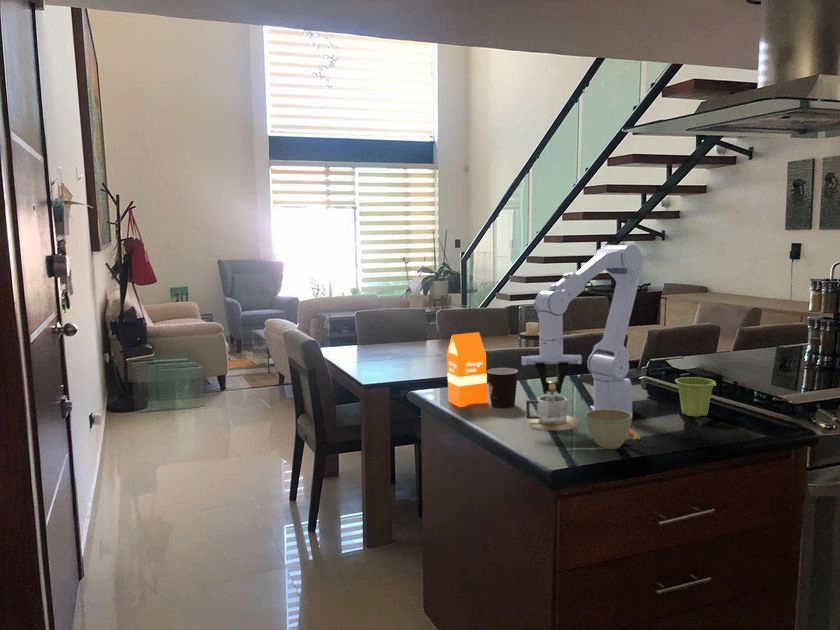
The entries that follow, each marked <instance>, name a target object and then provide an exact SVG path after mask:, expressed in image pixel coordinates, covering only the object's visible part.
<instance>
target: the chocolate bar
mask: <svg viewBox="0 0 840 630" xmlns="http://www.w3.org/2000/svg"><path fill="white" fill-rule="evenodd" d="M627 437H630V438H631V439H632V440H641V437H640V435H639V434H638V432H636V431H635V430H633V429H632V428H630V430H629V433H628V435H627Z"/></svg>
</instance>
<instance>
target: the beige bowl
mask: <svg viewBox="0 0 840 630" xmlns="http://www.w3.org/2000/svg"><path fill="white" fill-rule="evenodd" d="M585 421H586V425H587V427H588V430H589V433H590V434H591V438H592V439H593V440H594V443H595V444H596V446H598V447H600V449H604V450H616V449H619V448H621V447H622V446H623V445H624V443H625V441H626V439H627V437H628V433H629V430H630V429H631V427H632V422H633V414H631V413H629V412H626V411H622V410H615V409H599V410H589V411H587V412H586V413H585Z"/></svg>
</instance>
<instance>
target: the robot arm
mask: <svg viewBox="0 0 840 630" xmlns="http://www.w3.org/2000/svg"><path fill="white" fill-rule="evenodd" d="M643 260H644V256H643V253H642V252H641V250H640V248H639V247H638V245H636V244H605V245H603V246H602V247H600V248H599V249H597V250H596V252H595V255H594V256H593V257H592V258H591V259H590V260H588V261H587V262H586V263H585V264H584V265H583V266H582V267H581V268H580V269H578V271H576V272H571V271H570V272H565V273H564V274H563V275H562V278H561V279H560V280H558V281H557V282H555V283H554V284H551V285H549V287H550V288H548V290H547V289H544V290H541V291H540V292H538V293H537V295H536V297H535V299H534V301H533V307H534V309H535V311H536V313H537V318H538V324H539V325H538V326H539V327H538V328H539V329H538V330H539V331H538V332H539V334H538V335H539V341H538V342H539V354H538V355H537V354H535V355H527V356H524V355H523V356H521V365H522V366H527V365H530V366H531V365H533V366H534V367H535V370H536V371H537V374H538V377H539V379H540V383H541V386H542V393H543V394H544V395H546V394H548V391H547V385H546V381H547V367H546V365H556V381H557V382H558V391H556V392H557V394H562V387H563V383H564V381H565V378H566V377H567V376H566V375H567V374H568V371H569V370H570V365H569V364H574V365H575V364H577V365H581V364H583V363H582V362H583V361H582V360H583V358H582V355H581V354H564V334H563V333H564V331H563V330H564V323H563V321H564V319H563V318H564V317H563V314H564V313H566V311H567V309H568V306H569V304H570V303H571V301H573V300H574V299H575V298H577V296H579V295H580V294H581V293H582V292H583V291H585V289H586V288H585V287H586V284H587V283H588V282H589V281H591V280H592V279H594V278H595V277H596V276H597V275H599V274H600V273H602V272H604V271H606V272H607V273H608V274H609V275H610V276H611V277H612V278H613V279H614V281H615V288H614V293H613V296H612V301H611V303H610V308H609V313H608V315H607V320H606V323H605V328H604V332H603V336H602V339H601V340H600V341H599V342H597V343H595V344H594V345H593V348H592V352H591V354H589V356H588V358H587V369H588V371H589V373H591V376H592V378H593V405H590V406H589V407H590V409H591V411H593V410H599V409H615V410H622V411H626V412H629V413H631V414H632V415H633V387H632V386H633V385H632V381H631V379H630V378H628V377H626V376H627V375H628V373H629V369H630V362H629V359H630V352H629V350H628V349H627V348H626V347H625V345H624V343H625V340H626V336H627V331H628V328H629V327H628V326H629V324H630V319H631V316H632V311H633V307H634V303H635V300H636V295H637V292H638V291H637V290H638V287H639V283H640V272H641V268H642V265H643ZM612 353H613V354H612Z"/></svg>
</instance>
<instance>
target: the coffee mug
mask: <svg viewBox="0 0 840 630" xmlns="http://www.w3.org/2000/svg"><path fill="white" fill-rule="evenodd" d="M486 374H487V385H488V392H489V398H490V405H491V407H492V408H496V409H510V408H513V407H515V405H516V394H517V383H518V374H519V370H518V369H517V368H510V367H496V368H490V369H486Z"/></svg>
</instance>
